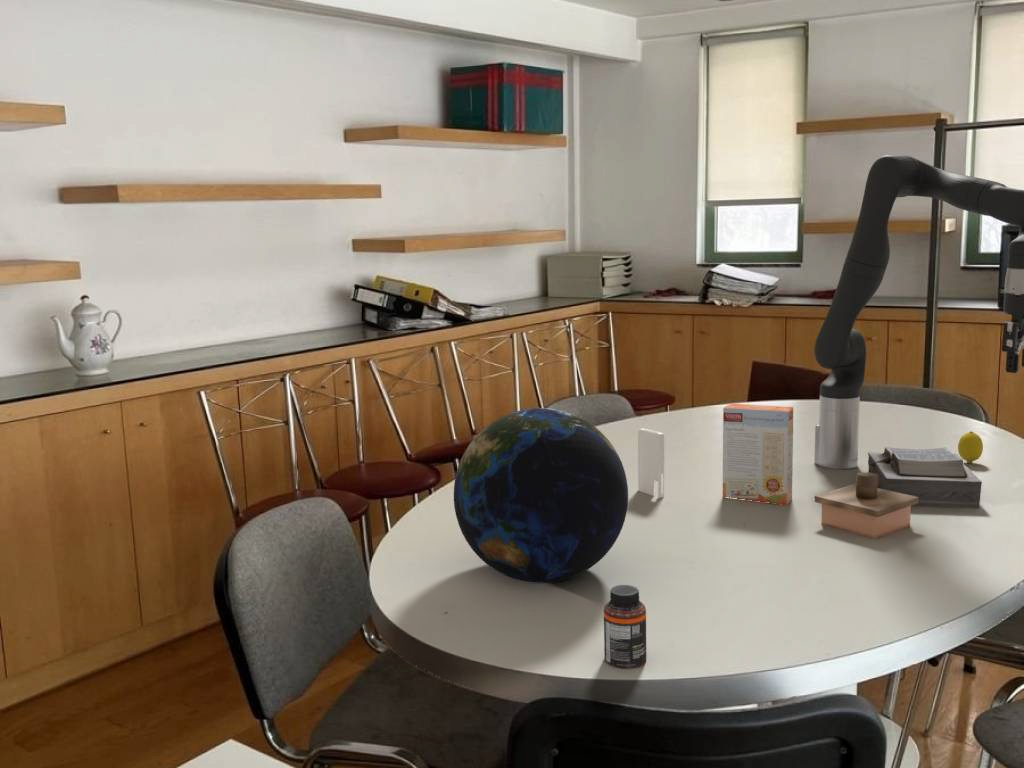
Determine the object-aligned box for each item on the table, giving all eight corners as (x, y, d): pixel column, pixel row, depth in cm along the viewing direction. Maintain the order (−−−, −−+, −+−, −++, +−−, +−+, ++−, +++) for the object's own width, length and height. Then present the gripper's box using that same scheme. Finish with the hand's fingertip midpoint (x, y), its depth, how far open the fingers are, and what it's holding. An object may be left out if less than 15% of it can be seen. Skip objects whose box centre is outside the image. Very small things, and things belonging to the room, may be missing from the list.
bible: (861, 506, 223) (863, 461, 222) (866, 475, 248) (868, 434, 247) (981, 515, 215) (984, 468, 214) (974, 482, 240) (976, 440, 239)
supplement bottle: (617, 653, 153) (616, 578, 151) (654, 662, 149) (654, 586, 148) (596, 668, 148) (595, 591, 146) (634, 678, 145) (633, 600, 143)
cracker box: (792, 500, 227) (794, 405, 224) (786, 508, 222) (788, 411, 219) (728, 494, 234) (730, 401, 230) (721, 501, 228) (722, 406, 225)
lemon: (984, 466, 252) (986, 434, 251) (959, 465, 253) (961, 433, 252) (979, 461, 257) (980, 429, 256) (955, 460, 259) (956, 428, 257)
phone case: (637, 494, 235) (637, 428, 233) (642, 493, 236) (642, 427, 233) (659, 501, 229) (659, 434, 226) (664, 500, 230) (664, 433, 227)
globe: (656, 596, 174) (656, 419, 169) (481, 620, 166) (476, 434, 161) (592, 542, 203) (590, 389, 198) (439, 560, 194) (433, 400, 189)
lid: (814, 501, 209) (815, 474, 208) (855, 489, 217) (856, 462, 216) (877, 517, 198) (878, 488, 197) (918, 503, 206) (919, 475, 205)
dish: (821, 526, 209) (822, 502, 208) (856, 514, 217) (857, 490, 216) (874, 540, 200) (875, 515, 199) (909, 527, 207) (910, 502, 206)
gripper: (1018, 287, 220) (1013, 363, 223) (992, 292, 210) (987, 372, 213) (1057, 288, 215) (1051, 367, 218) (1031, 294, 205) (1025, 376, 208)
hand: (1019, 369), depth 215 cm, fingers open, 8 cm apart
